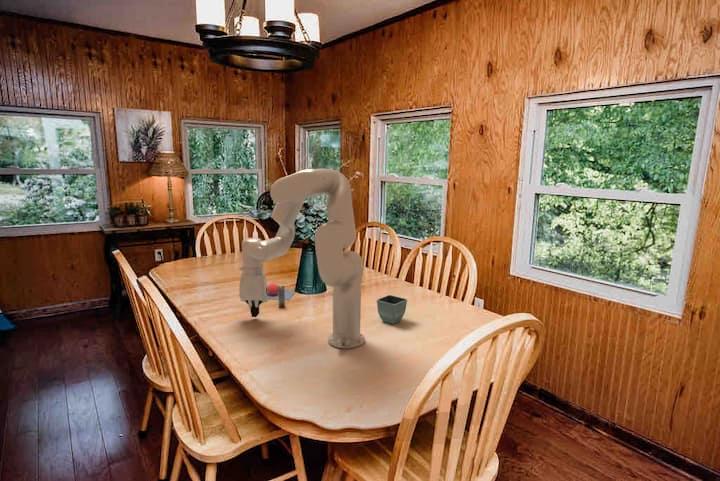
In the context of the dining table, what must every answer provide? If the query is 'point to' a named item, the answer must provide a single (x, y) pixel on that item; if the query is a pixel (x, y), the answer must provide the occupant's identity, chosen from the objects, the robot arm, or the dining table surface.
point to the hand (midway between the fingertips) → (255, 315)
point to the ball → (272, 289)
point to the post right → (281, 296)
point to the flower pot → (391, 308)
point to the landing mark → (287, 295)
